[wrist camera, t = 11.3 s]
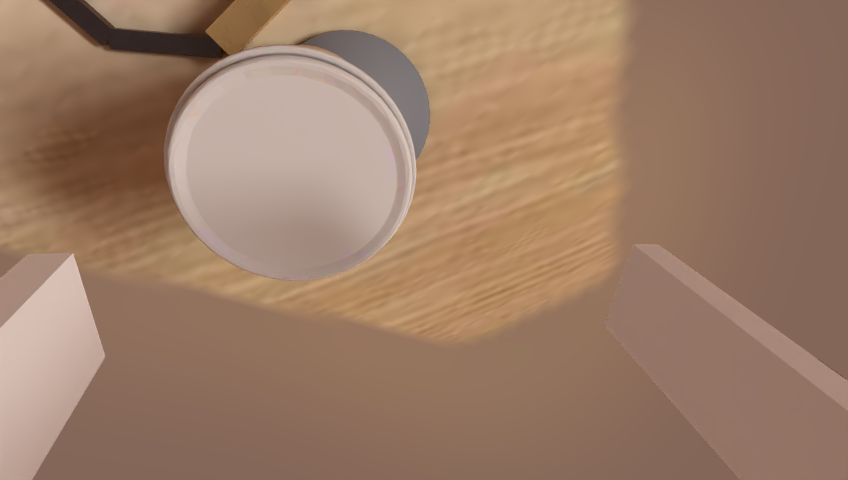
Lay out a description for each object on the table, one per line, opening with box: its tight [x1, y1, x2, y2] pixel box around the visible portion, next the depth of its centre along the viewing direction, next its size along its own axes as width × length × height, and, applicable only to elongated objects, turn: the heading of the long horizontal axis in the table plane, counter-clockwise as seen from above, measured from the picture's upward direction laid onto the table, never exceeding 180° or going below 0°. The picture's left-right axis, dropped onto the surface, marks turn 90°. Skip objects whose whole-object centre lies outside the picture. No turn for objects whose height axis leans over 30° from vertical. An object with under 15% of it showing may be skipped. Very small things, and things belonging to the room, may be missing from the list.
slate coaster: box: [300, 30, 430, 159], centre depth 28 cm, size 10×10×1 cm
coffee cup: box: [164, 45, 416, 281], centre depth 21 cm, size 9×9×12 cm
